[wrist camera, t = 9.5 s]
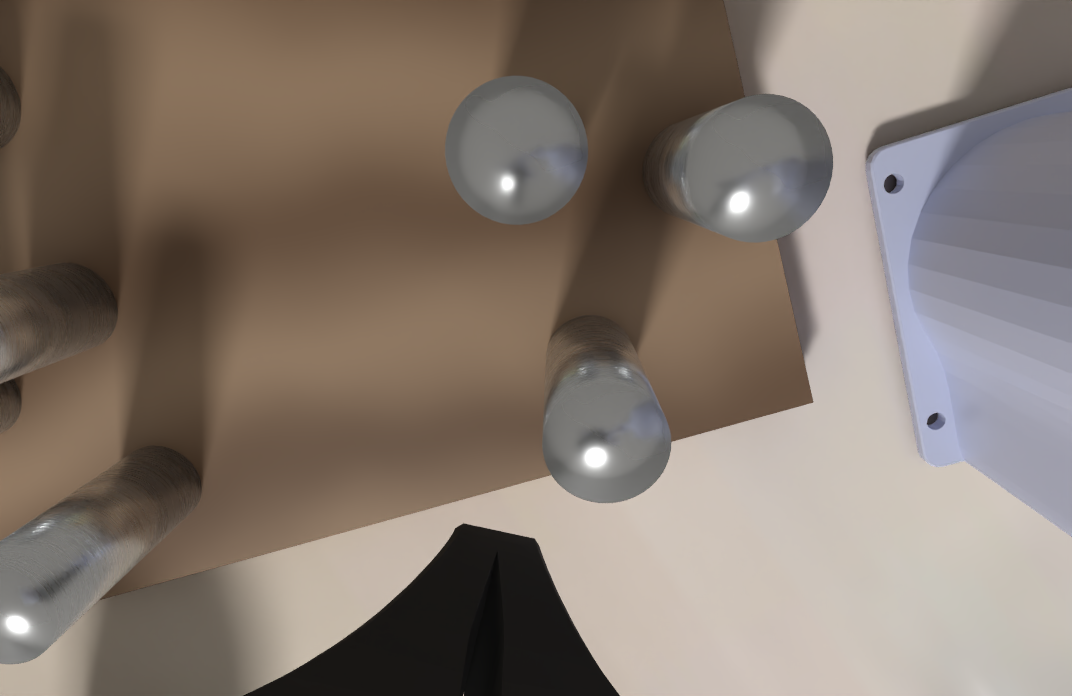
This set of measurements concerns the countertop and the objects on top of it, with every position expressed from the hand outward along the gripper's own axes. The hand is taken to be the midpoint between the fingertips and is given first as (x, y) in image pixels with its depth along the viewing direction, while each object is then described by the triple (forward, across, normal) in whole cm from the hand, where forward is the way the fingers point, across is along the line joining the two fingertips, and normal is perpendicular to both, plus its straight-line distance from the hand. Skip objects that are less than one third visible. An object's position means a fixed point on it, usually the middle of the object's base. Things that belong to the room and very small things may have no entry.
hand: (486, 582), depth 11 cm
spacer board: (+9, +6, -3) cm, 12 cm away
